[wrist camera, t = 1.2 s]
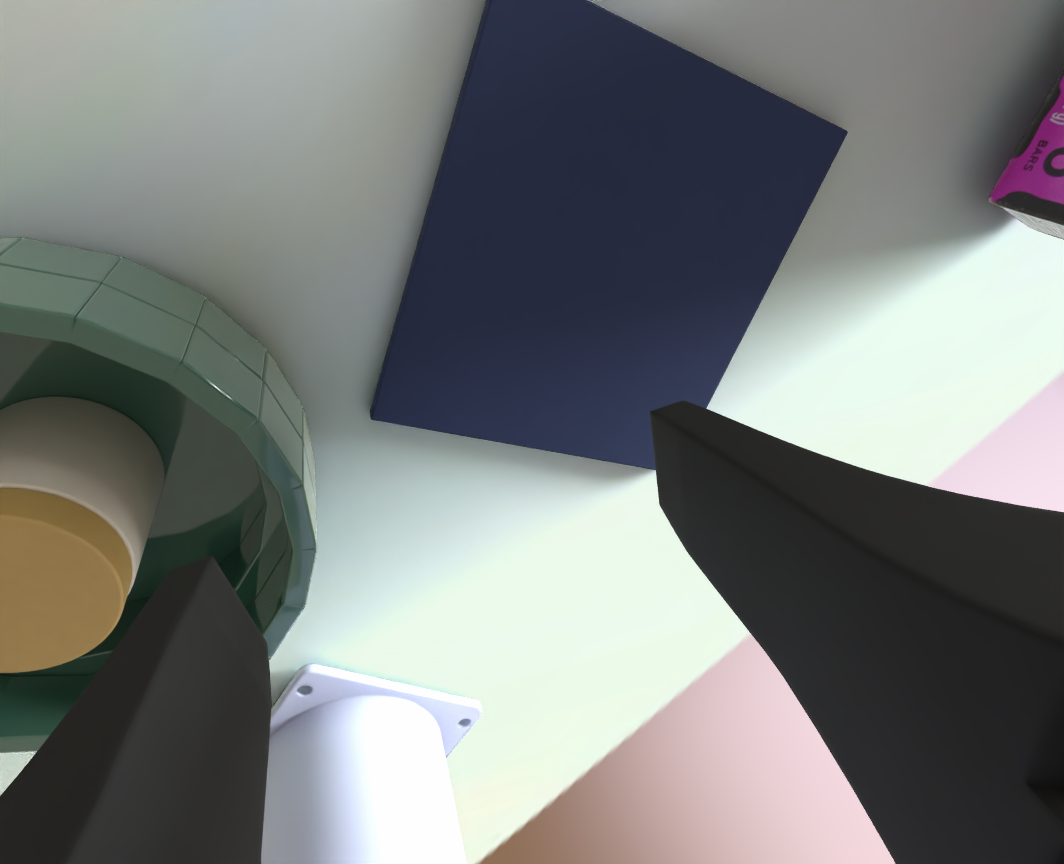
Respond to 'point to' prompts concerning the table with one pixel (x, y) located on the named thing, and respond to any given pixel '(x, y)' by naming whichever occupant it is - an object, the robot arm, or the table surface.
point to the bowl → (162, 441)
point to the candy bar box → (1038, 171)
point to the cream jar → (69, 525)
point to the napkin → (593, 234)
